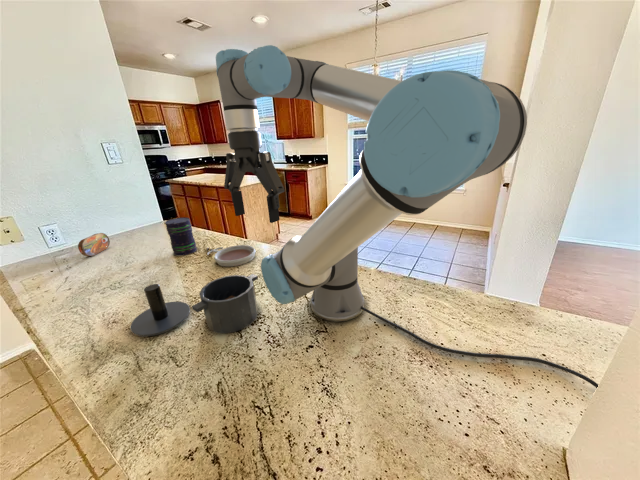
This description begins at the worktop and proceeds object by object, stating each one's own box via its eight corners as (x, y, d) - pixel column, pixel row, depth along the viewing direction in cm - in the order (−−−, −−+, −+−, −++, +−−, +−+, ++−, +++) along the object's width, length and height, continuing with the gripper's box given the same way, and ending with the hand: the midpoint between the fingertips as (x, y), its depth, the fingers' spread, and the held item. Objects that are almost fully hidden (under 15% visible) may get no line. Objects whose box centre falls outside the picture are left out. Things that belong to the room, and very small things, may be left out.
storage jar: (182, 247, 127) (174, 217, 121) (201, 247, 125) (194, 217, 120) (168, 255, 117) (159, 224, 112) (188, 256, 116) (180, 223, 111)
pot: (274, 307, 77) (270, 278, 74) (217, 347, 63) (209, 314, 60) (244, 293, 85) (239, 267, 81) (188, 326, 71) (179, 296, 67)
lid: (200, 315, 75) (192, 282, 72) (145, 346, 65) (132, 310, 61) (175, 299, 84) (166, 269, 80) (123, 325, 73) (109, 292, 69)
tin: (87, 258, 119) (80, 241, 116) (80, 259, 119) (73, 241, 116) (112, 246, 133) (106, 230, 130) (106, 246, 134) (100, 230, 130)
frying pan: (220, 239, 127) (263, 247, 113) (222, 245, 128) (264, 254, 114) (188, 252, 114) (232, 263, 99) (190, 258, 115) (234, 270, 100)
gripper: (294, 127, 57) (301, 220, 65) (225, 133, 72) (238, 209, 79) (269, 127, 52) (280, 229, 60) (200, 134, 66) (216, 215, 74)
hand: (256, 218), depth 69 cm, fingers open, 13 cm apart
